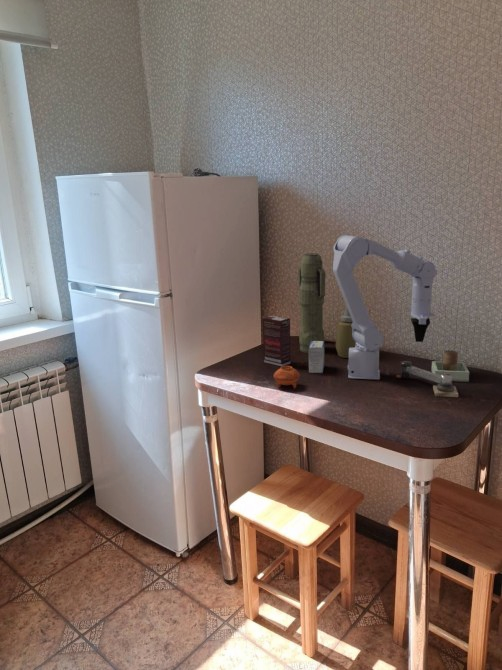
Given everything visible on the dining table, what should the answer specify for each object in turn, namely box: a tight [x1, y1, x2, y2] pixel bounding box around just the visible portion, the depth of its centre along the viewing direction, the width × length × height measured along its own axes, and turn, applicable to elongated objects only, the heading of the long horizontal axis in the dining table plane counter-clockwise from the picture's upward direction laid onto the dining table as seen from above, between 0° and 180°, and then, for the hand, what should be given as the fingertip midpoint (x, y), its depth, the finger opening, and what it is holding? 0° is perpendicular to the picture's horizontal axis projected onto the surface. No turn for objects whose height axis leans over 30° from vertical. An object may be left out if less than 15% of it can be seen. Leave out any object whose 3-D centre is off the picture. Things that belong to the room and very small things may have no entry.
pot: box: [273, 365, 301, 389], centre depth 160 cm, size 8×8×7 cm
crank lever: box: [400, 360, 453, 387], centre depth 157 cm, size 18×3×5 cm, turn 31°
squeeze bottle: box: [335, 305, 356, 359], centre depth 186 cm, size 8×8×18 cm
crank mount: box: [395, 374, 459, 398], centre depth 157 cm, size 16×16×2 cm
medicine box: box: [308, 340, 325, 374], centre depth 174 cm, size 8×4×9 cm, turn 168°
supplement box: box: [262, 315, 292, 367], centre depth 181 cm, size 9×5×16 cm, turn 46°
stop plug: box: [442, 349, 459, 371], centre depth 164 cm, size 4×4×7 cm
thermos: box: [298, 253, 326, 354], centre depth 192 cm, size 9×12×35 cm
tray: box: [431, 360, 470, 383], centre depth 165 cm, size 10×10×3 cm
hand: (419, 341), depth 169 cm, fingers closed
